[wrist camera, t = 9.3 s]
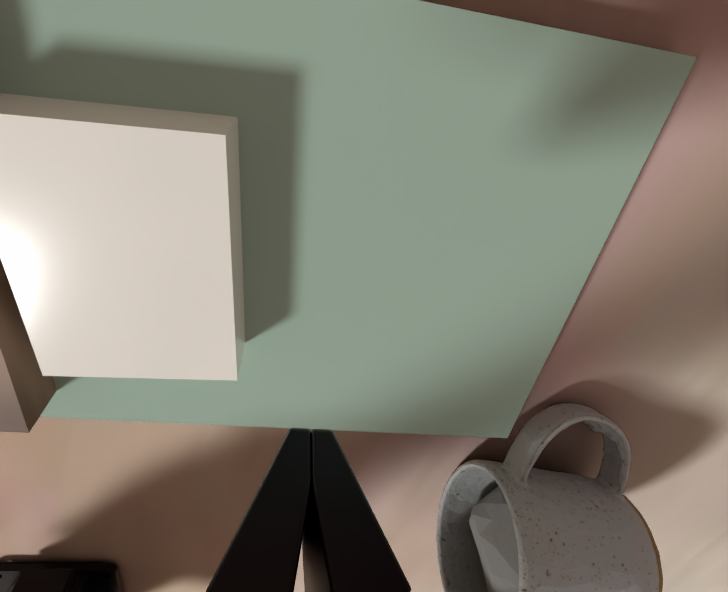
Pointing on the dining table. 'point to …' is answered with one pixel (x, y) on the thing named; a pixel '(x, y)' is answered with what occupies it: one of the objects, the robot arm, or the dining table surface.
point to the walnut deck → (19, 368)
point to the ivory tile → (123, 238)
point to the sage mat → (372, 193)
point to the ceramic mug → (546, 519)
